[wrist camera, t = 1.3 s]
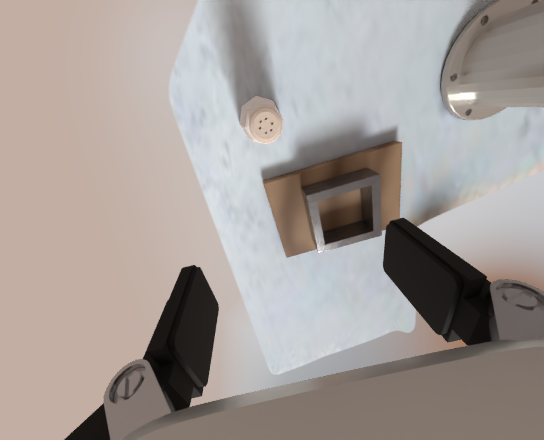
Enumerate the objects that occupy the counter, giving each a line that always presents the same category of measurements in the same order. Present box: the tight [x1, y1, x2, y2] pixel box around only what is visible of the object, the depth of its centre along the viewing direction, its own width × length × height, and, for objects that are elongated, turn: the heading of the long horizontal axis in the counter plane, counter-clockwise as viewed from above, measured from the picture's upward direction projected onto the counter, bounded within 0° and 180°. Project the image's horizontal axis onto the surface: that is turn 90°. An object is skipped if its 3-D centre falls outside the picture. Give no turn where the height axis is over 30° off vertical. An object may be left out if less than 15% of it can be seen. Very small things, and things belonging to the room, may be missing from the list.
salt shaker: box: [239, 96, 283, 144], centre depth 22 cm, size 5×5×11 cm
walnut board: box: [263, 141, 402, 257], centre depth 33 cm, size 20×14×2 cm
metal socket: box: [301, 167, 382, 253], centre depth 31 cm, size 10×10×4 cm
